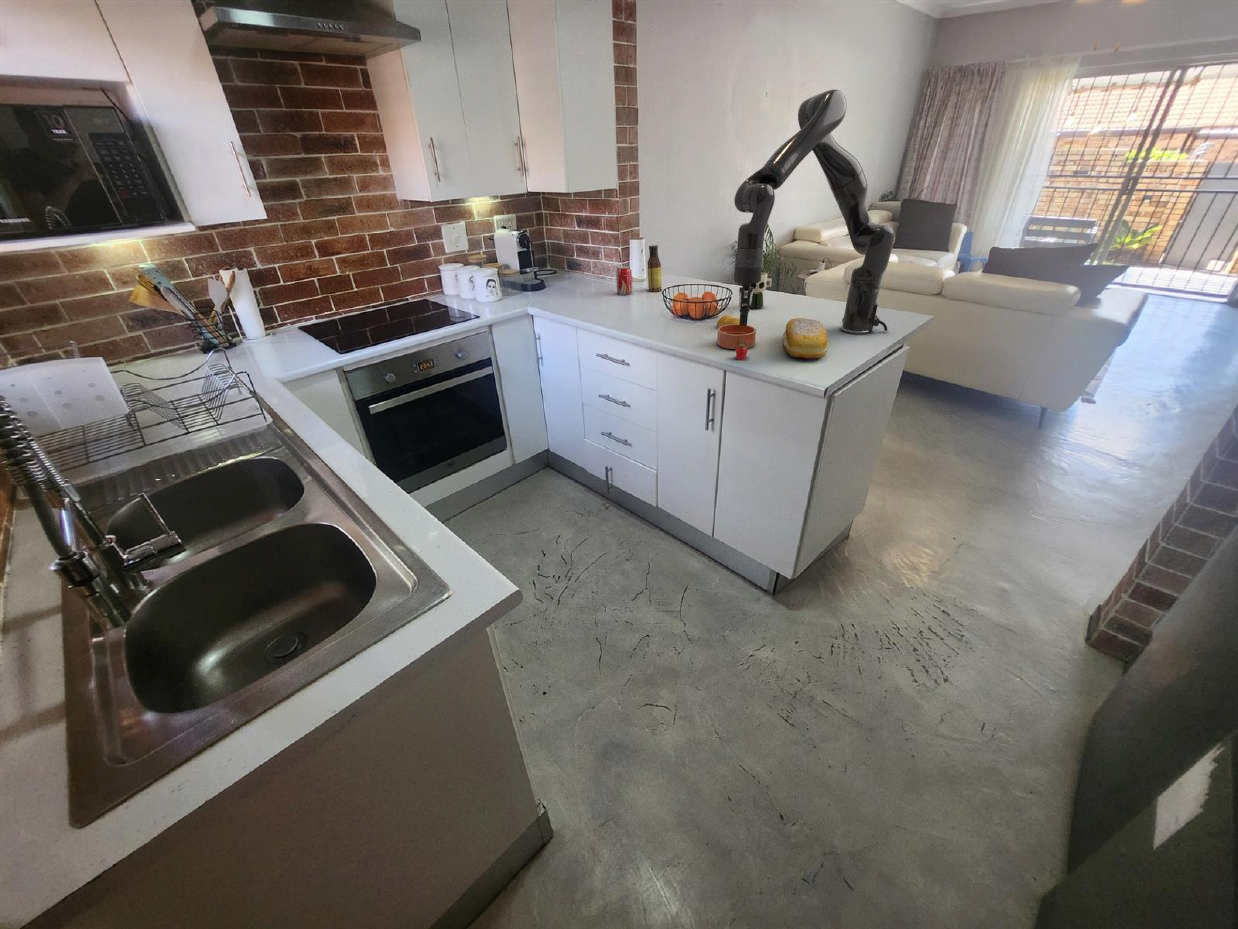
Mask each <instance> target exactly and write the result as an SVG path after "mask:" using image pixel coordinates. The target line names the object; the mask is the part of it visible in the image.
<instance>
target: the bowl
mask: <svg viewBox="0 0 1238 929" xmlns="http://www.w3.org/2000/svg"><path fill="white" fill-rule="evenodd" d="M716 334H717V335H716V336H717V337H716V344H717V345H718V346H719V347H721V348H723V349H724V348H725V349H727V350H736V348H737V347H738V346H739V344H744V345H745V347H746V348H747V349H749V348H752V347H754V346H755V344H756V335H757V328H756V327H754V326H752V325H748V324H747V326H740V325H739V324H730V325H724V326H721V327H718V328H717V333H716Z"/></svg>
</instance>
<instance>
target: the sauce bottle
mask: <svg viewBox="0 0 1238 929" xmlns="http://www.w3.org/2000/svg"><path fill="white" fill-rule="evenodd" d="M658 249H659V245H658V244H650V245H648V250H649V258H648V259H647V284H648V285H647V286H648V291H649V292H653V293H657V292H660V291H662V286H663V284H662V283H663V282H662V264H661V261H660V258H659V253H658V252H659V251H658Z"/></svg>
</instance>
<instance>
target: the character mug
mask: <svg viewBox="0 0 1238 929" xmlns="http://www.w3.org/2000/svg"><path fill="white" fill-rule="evenodd" d="M772 279H773V278H768V273H767V272H761V280H760V282H758V283H752V284H751V287H753V296H752V300H751V305H750V306H749V309H755V307H756V309H761V308H763V307H764V293H763V292H765V291H766V290H767V288H771V287H772V281H773V280H772ZM767 282H768V284H767Z"/></svg>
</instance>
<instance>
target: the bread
mask: <svg viewBox="0 0 1238 929" xmlns="http://www.w3.org/2000/svg"><path fill="white" fill-rule="evenodd" d="M782 343H783V347H784V349H785V351H786V352H787V354H789V355H790V357H793V358H799V359H805V360H811V359H815V360H816V359H821V358H823V357H824V356H826V354H827V352H828V349H829V347H828V346H829V343H828V335H827V330H826V329H825V326H824V324H823V322H821V321H819V320H816V319H812V318H806V317H796V318H792V319H790V320H789V321H787V323H786V324H785V330H784V332H783V334H782Z"/></svg>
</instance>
